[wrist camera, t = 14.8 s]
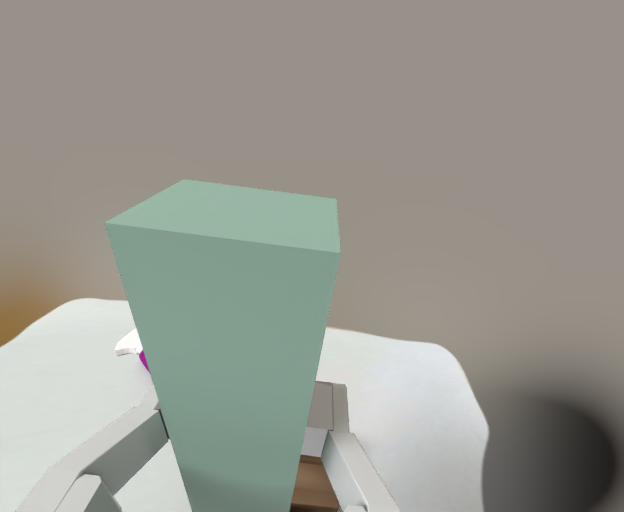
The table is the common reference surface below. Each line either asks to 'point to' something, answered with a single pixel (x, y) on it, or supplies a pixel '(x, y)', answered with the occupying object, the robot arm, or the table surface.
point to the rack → (313, 488)
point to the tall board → (231, 329)
